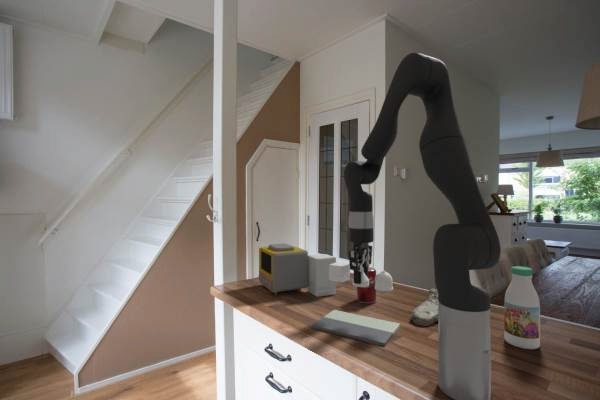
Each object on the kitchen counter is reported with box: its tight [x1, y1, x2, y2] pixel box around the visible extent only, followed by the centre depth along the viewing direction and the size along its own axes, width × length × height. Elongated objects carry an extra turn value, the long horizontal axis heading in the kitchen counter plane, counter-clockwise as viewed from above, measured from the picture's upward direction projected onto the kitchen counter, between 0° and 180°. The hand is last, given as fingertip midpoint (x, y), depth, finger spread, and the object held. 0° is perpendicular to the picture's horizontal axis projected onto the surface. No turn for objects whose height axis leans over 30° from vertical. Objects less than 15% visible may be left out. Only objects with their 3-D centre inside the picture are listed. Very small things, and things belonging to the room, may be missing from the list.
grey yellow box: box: [258, 243, 309, 296], centre depth 133 cm, size 20×16×18 cm
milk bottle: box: [503, 265, 541, 350], centre depth 83 cm, size 8×8×20 cm
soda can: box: [356, 266, 377, 305], centre depth 117 cm, size 7×7×12 cm
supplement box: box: [307, 253, 337, 298], centre depth 127 cm, size 9×9×15 cm
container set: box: [329, 261, 394, 292], centre depth 96 cm, size 20×5×6 cm, turn 53°
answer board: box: [311, 309, 401, 347], centre depth 93 cm, size 22×15×1 cm
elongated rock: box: [410, 287, 438, 327], centre depth 108 cm, size 35×5×10 cm
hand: (361, 281), depth 96 cm, fingers closed on container set, 5 cm apart
